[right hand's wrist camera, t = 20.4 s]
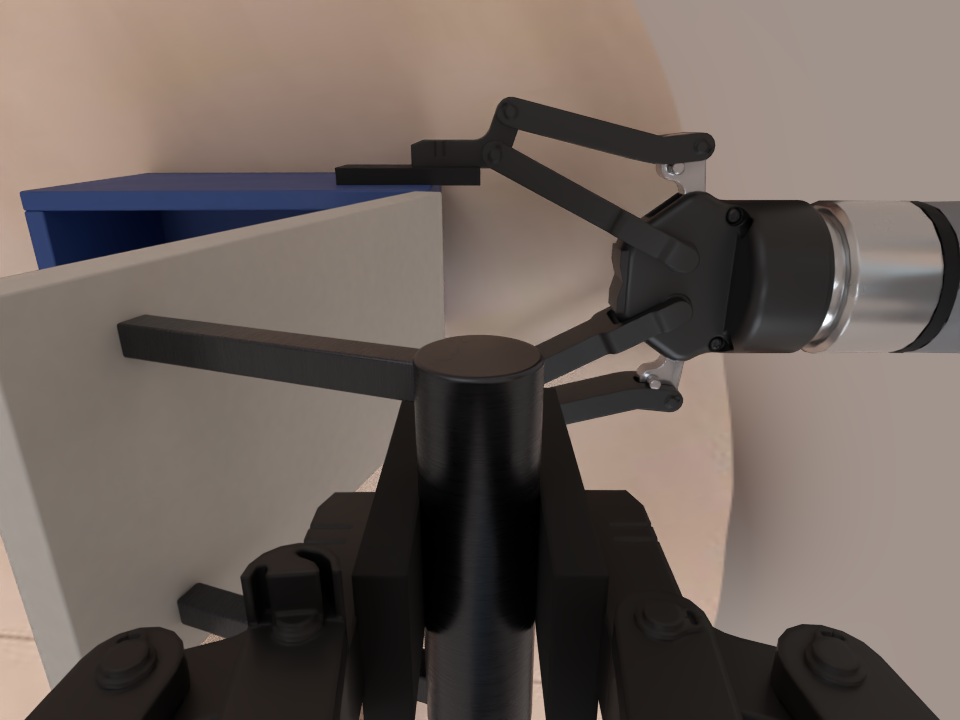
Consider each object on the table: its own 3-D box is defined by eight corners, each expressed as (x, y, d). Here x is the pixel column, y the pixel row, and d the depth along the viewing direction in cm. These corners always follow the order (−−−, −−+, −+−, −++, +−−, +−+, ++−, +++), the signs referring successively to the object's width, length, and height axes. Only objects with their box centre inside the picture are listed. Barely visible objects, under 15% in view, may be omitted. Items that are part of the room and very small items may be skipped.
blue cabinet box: (174, 325, 39) (69, 396, 29) (146, 172, 36) (18, 191, 26) (444, 324, 39) (435, 393, 29) (440, 172, 36) (429, 190, 26)
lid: (59, 722, 13) (483, 902, 10) (-80, 293, 10) (483, 367, 7) (422, 397, 29) (630, 429, 26) (414, 191, 25) (651, 199, 22)
